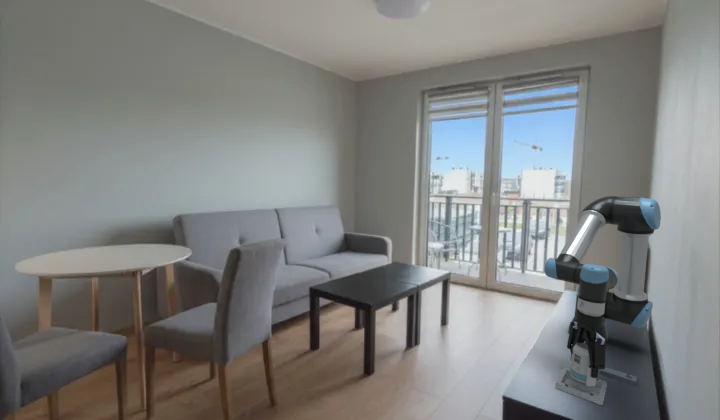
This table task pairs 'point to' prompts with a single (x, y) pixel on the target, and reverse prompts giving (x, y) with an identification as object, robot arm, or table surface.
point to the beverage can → (580, 362)
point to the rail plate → (581, 388)
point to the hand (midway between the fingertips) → (582, 378)
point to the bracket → (619, 376)
